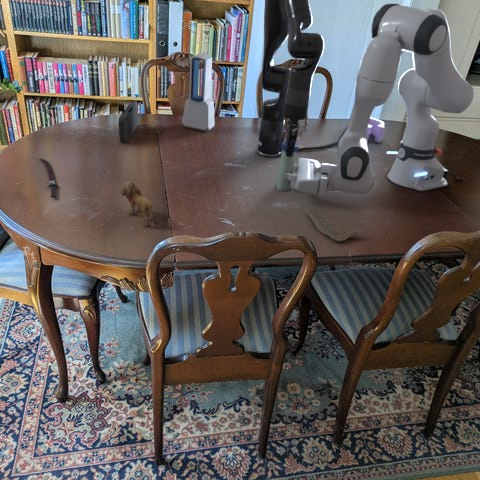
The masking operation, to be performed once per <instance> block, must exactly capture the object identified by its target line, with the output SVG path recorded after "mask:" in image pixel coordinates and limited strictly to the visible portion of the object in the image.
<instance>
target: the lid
mask: <svg viewBox="0 0 480 480" xmlns="http://www.w3.org/2000/svg"><path fill="white" fill-rule="evenodd" d="M290 142H291V141H290ZM281 149H282V150H283V151H286V150H287V140H284V142H282V147H281ZM298 149H299V144H298V143H297V142H296V145H295V147H294V150H293V152H296V153H297V152H299V151H298Z"/></svg>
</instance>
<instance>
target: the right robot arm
mask: <svg viewBox="0 0 480 480" xmlns="http://www.w3.org/2000/svg"><path fill="white" fill-rule="evenodd" d="M450 32H451V31H450V27H449V23H448V20H447V16H446V14H445V12H444V11H442V10H441V9H439V8H427V9H424V10H423V9H421V8H417V7H412V6H407V5H400V3H386V4H383V5H382V6H381V7H380V8H379V9H378V10H377V11H376V13H375V14H374V16H373V18H372V21H371V40H370V41H369V42H368V44H367V47H366V48H365V50H364V53H363V56H362V58H361V61H360V65H359V68H358V70H357V75H356V79H355V84H354V101H353V106H352V110H351V113H350V117H349V120H348V123H347V125H346V127H345V129H344V130H343V131H342V132H341V134H340V135H339V137H338V138H337V141H336V142H337V144H336V148H337V151H338V164H331V163H325V162H319V161H318V160H317V159H316V160H315V159H313V158H312V159H311V158H305V157H299V158H297V159H298V160H297V162H296V163H294V168H293V172H295V173H293V174H290V173H288V172H283V176H282V177H283V178H286V179H289V180H291V182H293V183H295V190H296V191H298V192H302V193H307V194H312V195H313V194H314V195H315V194H317V196H320V197H323V196H325V194H326V193H327V192H328V191H329V192H340V193H342V194H350V195H364V194H368V193H369V192H370V191H371V190H372V188H373V185H374V183H375V182H374V181H375V176H376V175H375V173H374V171H373V168H372V164H371V158H370V152H369V151H370V150H369V146H368V142H367V137H366V129H367V126H368V123H369V120H370V117H372V114H373V112H374V110H375V108H377V107H381V106H382V105H384V104H385V103H387V102H388V100H389V98H390V96H391V94H392V91H393V89H394V87H395V83H396V81H397V77H398V73H399V69H400V64H401V58H402V55H403V53H404V51H405V52H408V53H409V52H410V53H411V54H412V62H413V68H410V69H407V70H406V71H405V72H404V73H403V74H402V75H401V77H400V78H399V81H398V85H397V87H398V88H397V91H398V94H399V95H400V97H401V99H402V100H403V102H404V105H405V110H406V125H405V127H404V128H405V129H404V133H403V136H402V140H400V143H399V145H398V149H397V151H386V154H387V155H390V154H391V155H396V157H395V160H394V162H393V164H392V166H391V168H390V170H389V171H388V173H387V175H386V177H387V178H388V180H389V181H390V182H392V183H394V184H395V185H398V186H401V187H405V188H409V189H413V190H415V191H419V192H425V191H429V190H433V189H438V188H444V187H447V186H448V184H449V183H448V181H447V180H446V178H447V177H448V175H450V176H451V177H453V179H454V180H455V181H462V179H463V178H462V177H457V176H456V174H455V173H452V172H449V170H448V169H446V168H445V167H444V166H443V164H441V162H440V161H439V160H438V159H437V157H436V156H441V155H442V152H443V150H442V149H440V148H439V147H435V144H436V141H437V139H438V135H439V132H440V124H439V121H438V120H437V119H436V118H435V117H434V115H433V113H432V109H434V110H436V111H439V112H443V113H447V114H448V113H449V114H461V113H463V112H464V111H466V110H467V109H468V108H469V107H470V106H471V105H472V103H473V100H474V96H475V95H474V94H475V92H474V88H473V85H472V84H471V83H469V82H468V81H467V80H466V79H465V78H464V77H463V76H462V75H461V74H460V72H459V71H458V69H457V67H456V66H455V64H454V61H453V57H452V45H451V33H450ZM435 154H436V156H435Z"/></svg>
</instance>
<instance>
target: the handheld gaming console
mask: <svg viewBox="0 0 480 480" xmlns="http://www.w3.org/2000/svg"><path fill="white" fill-rule="evenodd" d="M138 104H139V103H138V101H131V102H130V103H129V104H128V105H127V106H126V107H125V109H124V110H123V111H122V112H121V114H120V115H119V117H118V122H117V123H118V137H119V142H120V143H127V142H128V140H129V139H130V137H131V136H132V134H133V133H134V131H136V129H137V127H138V125H139V105H138Z"/></svg>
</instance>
